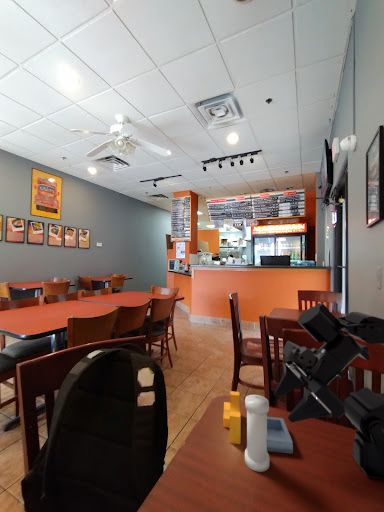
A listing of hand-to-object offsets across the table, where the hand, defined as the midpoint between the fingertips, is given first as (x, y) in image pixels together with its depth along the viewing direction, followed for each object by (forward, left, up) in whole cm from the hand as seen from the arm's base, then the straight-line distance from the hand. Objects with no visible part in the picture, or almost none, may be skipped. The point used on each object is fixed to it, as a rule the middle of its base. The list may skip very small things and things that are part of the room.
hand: (281, 406), depth 53 cm
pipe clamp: (+10, -11, -12) cm, 19 cm away
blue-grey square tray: (+1, -8, -12) cm, 14 cm away
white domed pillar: (+5, 0, -12) cm, 13 cm away
